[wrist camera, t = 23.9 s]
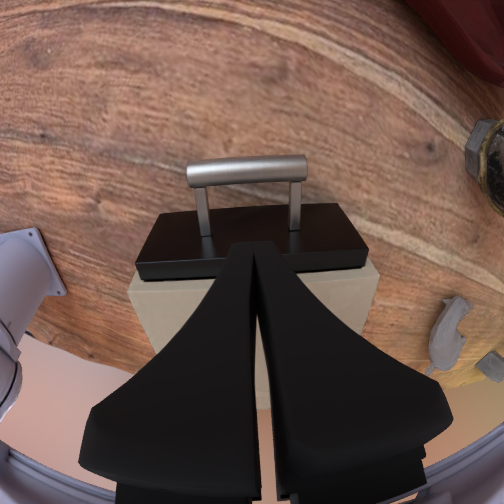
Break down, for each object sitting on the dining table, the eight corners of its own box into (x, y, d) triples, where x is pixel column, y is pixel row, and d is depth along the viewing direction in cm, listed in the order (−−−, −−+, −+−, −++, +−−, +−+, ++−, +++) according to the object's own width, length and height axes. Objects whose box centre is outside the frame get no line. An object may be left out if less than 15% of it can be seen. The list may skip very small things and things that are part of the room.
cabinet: (158, 222, 20) (126, 291, 13) (339, 212, 20) (380, 275, 14) (194, 349, 29) (188, 410, 22) (318, 341, 29) (332, 401, 22)
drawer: (148, 154, 16) (112, 187, 11) (342, 143, 16) (382, 171, 11) (195, 343, 26) (190, 392, 22) (317, 335, 27) (328, 383, 22)
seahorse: (487, 329, 31) (480, 294, 21) (448, 386, 32) (419, 384, 22) (467, 315, 35) (446, 274, 25) (430, 369, 37) (391, 357, 27)
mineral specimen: (490, 363, 43) (498, 389, 36) (471, 362, 43) (480, 390, 36) (508, 344, 38) (519, 371, 32) (491, 342, 39) (502, 371, 32)
